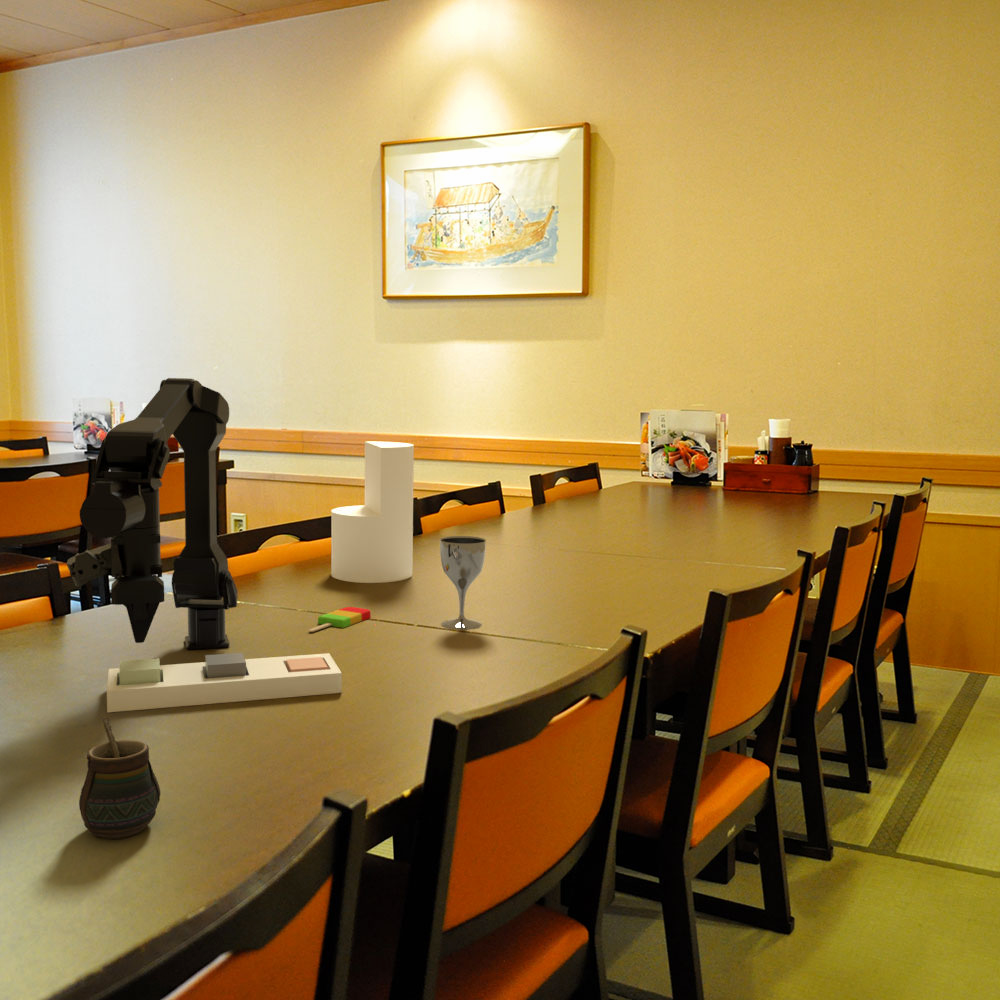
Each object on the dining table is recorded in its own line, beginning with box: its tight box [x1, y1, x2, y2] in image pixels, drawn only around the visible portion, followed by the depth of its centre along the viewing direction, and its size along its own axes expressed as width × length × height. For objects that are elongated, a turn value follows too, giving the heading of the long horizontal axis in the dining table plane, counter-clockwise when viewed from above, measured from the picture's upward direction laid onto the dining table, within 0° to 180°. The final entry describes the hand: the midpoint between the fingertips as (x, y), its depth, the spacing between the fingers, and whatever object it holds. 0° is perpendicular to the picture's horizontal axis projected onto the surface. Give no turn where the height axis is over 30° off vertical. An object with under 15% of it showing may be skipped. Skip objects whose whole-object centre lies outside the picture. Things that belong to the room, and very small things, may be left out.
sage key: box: [119, 657, 161, 685], centre depth 136 cm, size 5×5×2 cm
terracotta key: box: [286, 657, 328, 672], centre depth 144 cm, size 5×5×2 cm
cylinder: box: [330, 440, 415, 584], centre depth 219 cm, size 17×17×28 cm
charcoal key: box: [204, 652, 246, 679], centre depth 140 cm, size 5×5×2 cm
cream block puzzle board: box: [106, 652, 343, 713], centre depth 140 cm, size 10×30×3 cm, turn 109°
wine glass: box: [439, 535, 487, 631], centre depth 178 cm, size 8×8×15 cm
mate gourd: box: [78, 717, 161, 840], centre depth 98 cm, size 7×8×10 cm
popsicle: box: [308, 606, 372, 633], centre depth 178 cm, size 6×15×2 cm, turn 154°
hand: (139, 642), depth 136 cm, fingers closed
